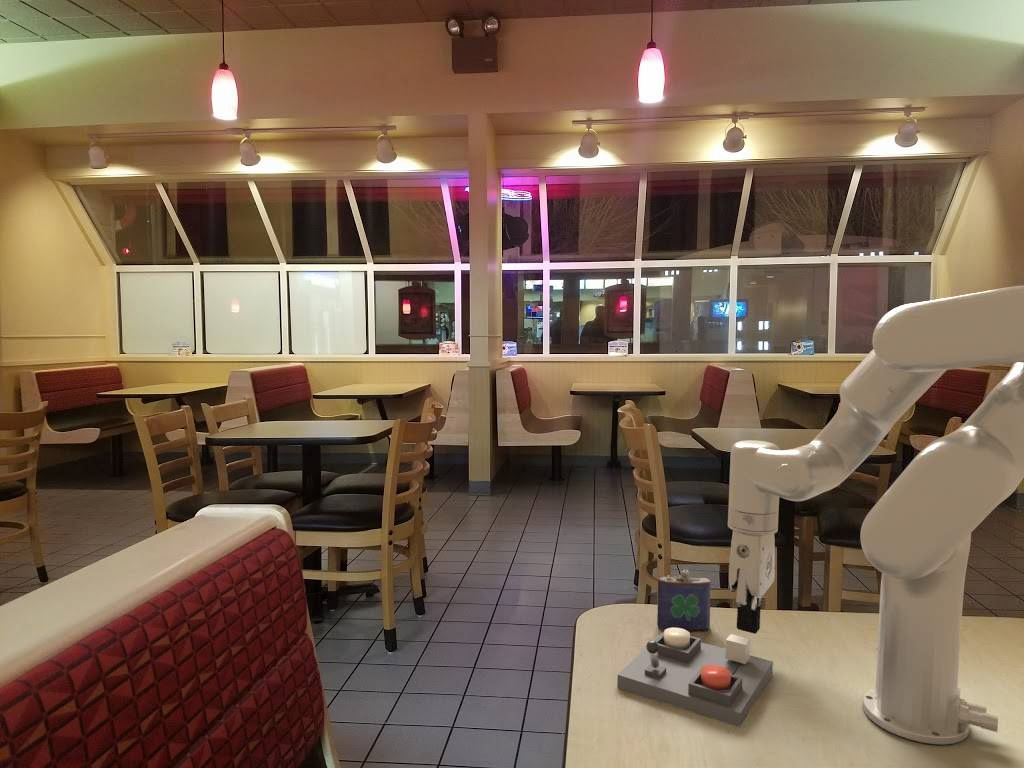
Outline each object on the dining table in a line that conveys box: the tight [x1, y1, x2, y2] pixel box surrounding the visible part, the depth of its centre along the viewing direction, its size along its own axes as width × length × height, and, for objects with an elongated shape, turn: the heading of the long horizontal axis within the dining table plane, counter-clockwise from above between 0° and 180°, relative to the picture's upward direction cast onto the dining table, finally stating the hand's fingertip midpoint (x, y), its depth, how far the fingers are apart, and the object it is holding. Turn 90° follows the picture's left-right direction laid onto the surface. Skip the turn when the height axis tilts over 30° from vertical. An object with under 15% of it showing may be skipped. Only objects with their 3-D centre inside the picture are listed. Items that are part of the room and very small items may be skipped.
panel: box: [616, 631, 774, 728], centre depth 104 cm, size 18×17×4 cm
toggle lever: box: [645, 640, 659, 668], centre depth 102 cm, size 2×2×5 cm
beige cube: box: [725, 633, 751, 664], centre depth 106 cm, size 3×2×3 cm
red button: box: [701, 665, 731, 690], centre depth 98 cm, size 4×4×2 cm
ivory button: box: [663, 628, 691, 649], centre depth 110 cm, size 4×4×2 cm
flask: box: [656, 568, 712, 633], centre depth 122 cm, size 9×3×11 cm, turn 88°
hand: (748, 629), depth 112 cm, fingers closed
